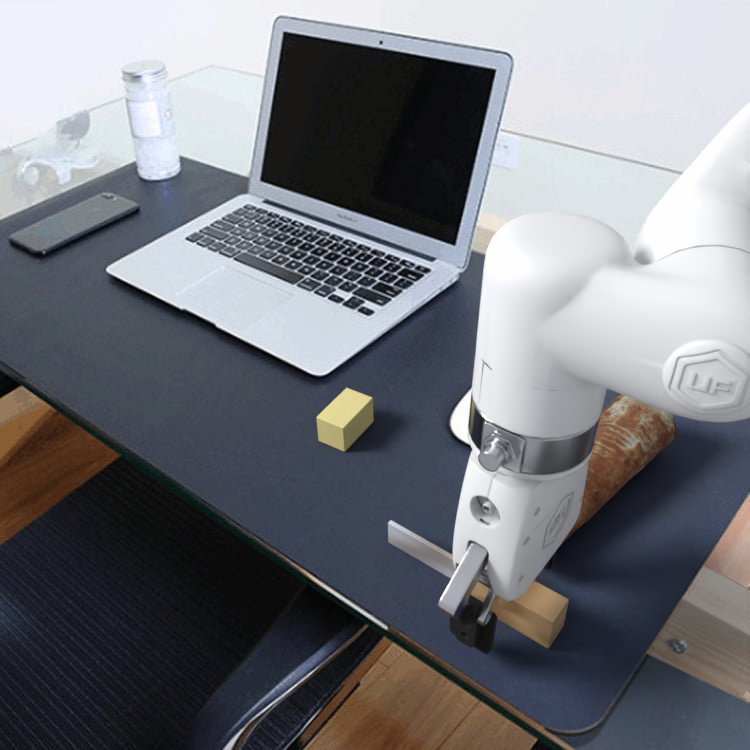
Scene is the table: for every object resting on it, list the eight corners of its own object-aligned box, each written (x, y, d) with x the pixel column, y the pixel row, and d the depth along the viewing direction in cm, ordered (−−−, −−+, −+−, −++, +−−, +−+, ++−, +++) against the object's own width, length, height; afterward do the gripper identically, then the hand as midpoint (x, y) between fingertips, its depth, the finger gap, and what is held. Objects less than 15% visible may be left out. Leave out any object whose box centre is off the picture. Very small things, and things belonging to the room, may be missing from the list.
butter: (347, 411, 78) (346, 387, 76) (373, 421, 76) (373, 397, 74) (318, 441, 74) (316, 416, 72) (344, 452, 73) (343, 428, 71)
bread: (674, 452, 72) (688, 405, 69) (550, 575, 62) (559, 528, 58) (613, 420, 76) (624, 374, 72) (486, 532, 65) (491, 484, 62)
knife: (380, 550, 64) (379, 523, 62) (398, 531, 65) (398, 505, 63) (548, 649, 57) (553, 622, 55) (563, 626, 58) (569, 599, 56)
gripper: (515, 540, 40) (485, 718, 51) (650, 370, 51) (602, 547, 62) (395, 475, 44) (391, 654, 54) (545, 329, 54) (516, 503, 65)
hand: (503, 596), depth 58 cm, fingers open, 8 cm apart
